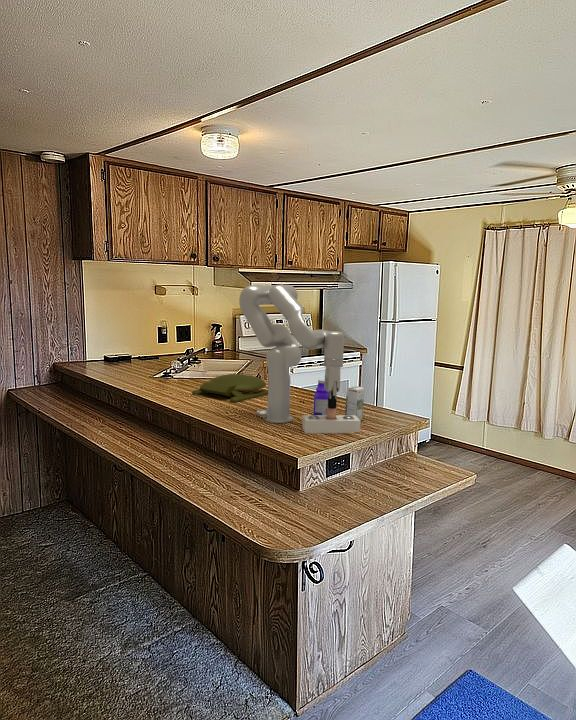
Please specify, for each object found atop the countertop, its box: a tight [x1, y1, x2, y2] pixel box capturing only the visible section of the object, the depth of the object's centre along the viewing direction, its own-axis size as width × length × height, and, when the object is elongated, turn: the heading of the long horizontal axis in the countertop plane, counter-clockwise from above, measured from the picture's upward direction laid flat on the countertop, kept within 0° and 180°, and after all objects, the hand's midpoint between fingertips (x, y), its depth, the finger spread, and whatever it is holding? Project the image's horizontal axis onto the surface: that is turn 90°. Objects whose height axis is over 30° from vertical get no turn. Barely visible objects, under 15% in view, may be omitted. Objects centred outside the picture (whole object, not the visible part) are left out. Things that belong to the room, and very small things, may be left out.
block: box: [301, 414, 362, 434], centre depth 216 cm, size 22×9×5 cm, turn 95°
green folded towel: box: [191, 373, 268, 403], centre depth 282 cm, size 35×31×10 cm
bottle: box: [312, 378, 328, 415], centre depth 233 cm, size 7×6×17 cm
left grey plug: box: [309, 414, 318, 419], centre depth 215 cm, size 4×4×5 cm
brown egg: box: [327, 407, 337, 419], centre depth 215 cm, size 4×4×5 cm
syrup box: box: [344, 385, 365, 421], centre depth 232 cm, size 6×6×14 cm
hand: (331, 407), depth 215 cm, fingers closed
